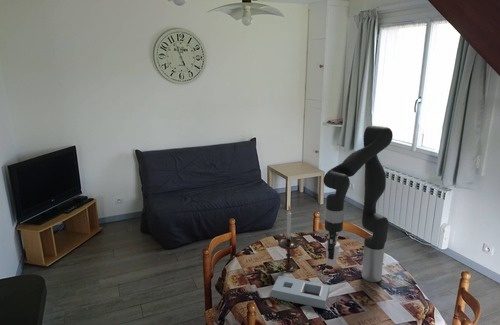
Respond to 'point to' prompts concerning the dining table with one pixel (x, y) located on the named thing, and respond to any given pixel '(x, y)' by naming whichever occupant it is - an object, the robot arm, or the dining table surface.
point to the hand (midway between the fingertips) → (331, 255)
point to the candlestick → (288, 245)
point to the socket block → (300, 291)
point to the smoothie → (333, 262)
